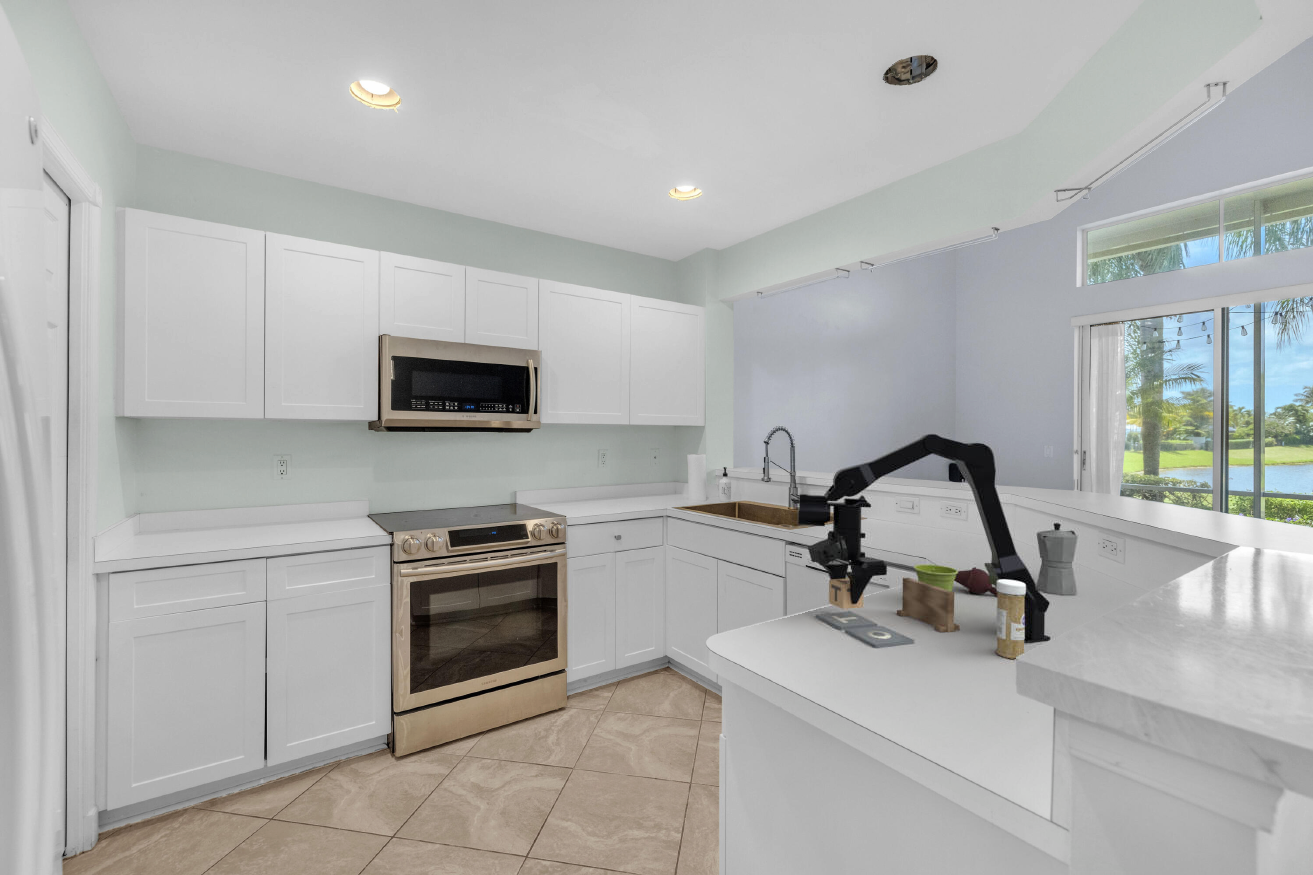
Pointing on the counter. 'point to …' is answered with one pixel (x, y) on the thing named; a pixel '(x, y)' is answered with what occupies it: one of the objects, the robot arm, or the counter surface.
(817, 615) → the tile
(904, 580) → the screen
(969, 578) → the dark red bulbous piece
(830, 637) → the counter surface
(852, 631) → the tile
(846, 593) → the letter cube
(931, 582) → the plant pot
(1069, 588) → the coffeepot
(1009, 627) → the sprinkles bottle
